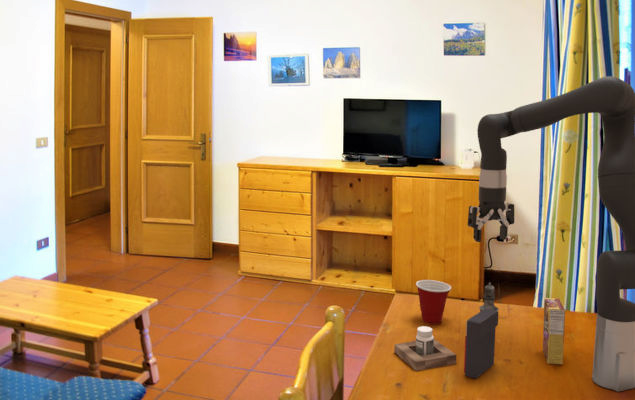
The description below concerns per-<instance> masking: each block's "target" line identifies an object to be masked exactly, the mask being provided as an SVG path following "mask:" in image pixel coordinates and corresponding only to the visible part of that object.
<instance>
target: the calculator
mask: <svg viewBox="0 0 635 400" xmlns="http://www.w3.org/2000/svg"><path fill="white" fill-rule="evenodd" d="M465 323H466V324H465V325H466V326H465V337H464V359H463V360H464V362H463V364H464V365H463V373H465V374H464V375H465V377H469V378H471V379H475V380H476V379H477V378H479V377H480V376H482V375H483V374H484V373H485V372H487V371H488V370H489V369H491V367H493V366H494V364H495V351H496V350H495V349H496V348H495V347H496V346H495V345H496V329H497V326H498V325H499V310H498V311H495V310H491V309H486V308H485V309H484V310H482V311H481V312H480V311H479V312H478V313H476V314H474V315H473V316H471V317H470V318H468V319H467V320H466V322H465Z"/></svg>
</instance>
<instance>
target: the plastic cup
mask: <svg viewBox="0 0 635 400" xmlns="http://www.w3.org/2000/svg"><path fill="white" fill-rule="evenodd" d="M415 286H416V288H417V294H418V301H419V307H420V313H421V319H422V322H423V323H425V324H427V323H428V324H429V325H438V323H439V324H441V323H442V320H443V317H444V315H443V314H444V312H445V307H446V302H447V298H448V296H449V292H450V291H451V290H452V286H451V285H450V284H449V283H446V282H442V281H439V280H432V279H421V280H418V281H416V283H415Z"/></svg>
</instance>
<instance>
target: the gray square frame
mask: <svg viewBox="0 0 635 400" xmlns="http://www.w3.org/2000/svg"><path fill="white" fill-rule="evenodd" d="M393 348H394V350H393V351H394V354H395V353H396V354H397V355H398V356H397V355H396V354H395V355H396V356H397V357H399V358H400V359H401V360H402V359H403V360H404V361H403V360H402V361H403V362H404V363H406V364H407V365H408V366H409V367H410V366H411V369H413V370H414V371H415V372H418V370H419V371H425V370H428V369H434V368H441V367H446V366H451V365H455V364H457V354H456V353H455V352H453V351H452V350H450V349H449V348H448V347H446V346H445V345H443V344H442V343H441V342H440V341H438V340H437V339H435V338H434V354H430V355H424V356H419V355H418V354H417V353H416V340H414V341H413V340H412V341H407V342H402V343H401V342H400V343H395V344H394V347H393Z"/></svg>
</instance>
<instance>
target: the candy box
mask: <svg viewBox="0 0 635 400" xmlns="http://www.w3.org/2000/svg"><path fill="white" fill-rule="evenodd" d="M565 322H566V309H565V308H564V306H563V303H562V302H561V300H560V298H555V297H553V298H551V297H544V303H543V332H542V333H543V334H542V335H543V336H542V352H543V354H544V357H545V361H546V364H549V365H563V364H564V363H563V362H564V361H563V360H564V348H565V347H564V345H565V343H564V342H565V339H564V338H565Z"/></svg>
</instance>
